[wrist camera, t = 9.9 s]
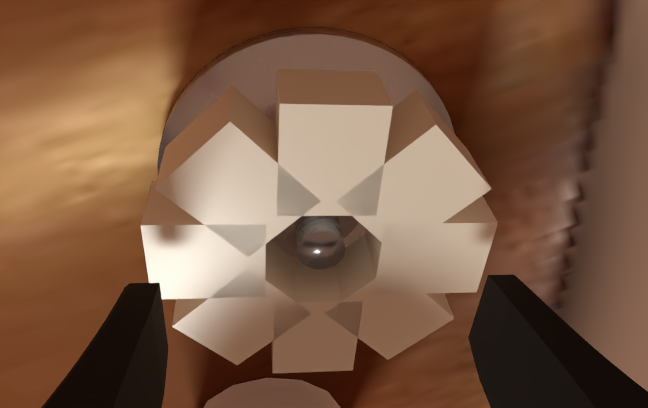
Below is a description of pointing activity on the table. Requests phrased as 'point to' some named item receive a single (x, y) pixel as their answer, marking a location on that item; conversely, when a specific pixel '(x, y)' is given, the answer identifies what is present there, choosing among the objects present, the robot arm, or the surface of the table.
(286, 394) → the foam cup
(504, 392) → the robot arm
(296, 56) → the axle mount
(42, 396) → the table surface
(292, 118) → the wheel
